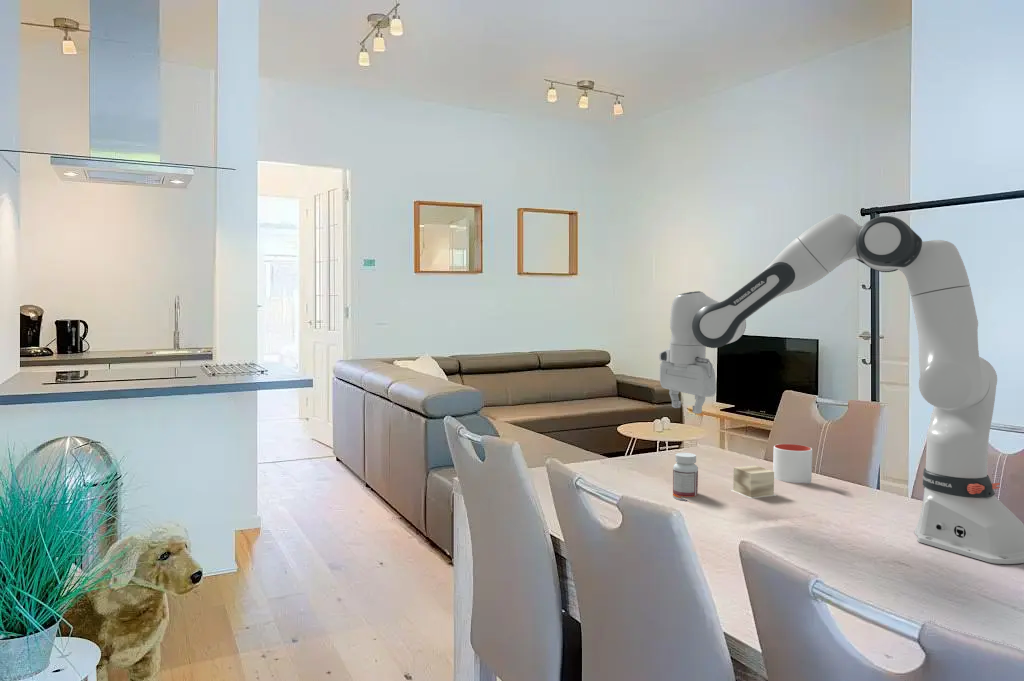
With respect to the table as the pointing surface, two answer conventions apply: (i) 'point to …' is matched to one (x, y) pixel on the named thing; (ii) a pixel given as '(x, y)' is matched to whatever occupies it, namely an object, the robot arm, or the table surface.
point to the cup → (792, 463)
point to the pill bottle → (685, 476)
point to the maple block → (753, 481)
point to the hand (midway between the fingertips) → (686, 410)
